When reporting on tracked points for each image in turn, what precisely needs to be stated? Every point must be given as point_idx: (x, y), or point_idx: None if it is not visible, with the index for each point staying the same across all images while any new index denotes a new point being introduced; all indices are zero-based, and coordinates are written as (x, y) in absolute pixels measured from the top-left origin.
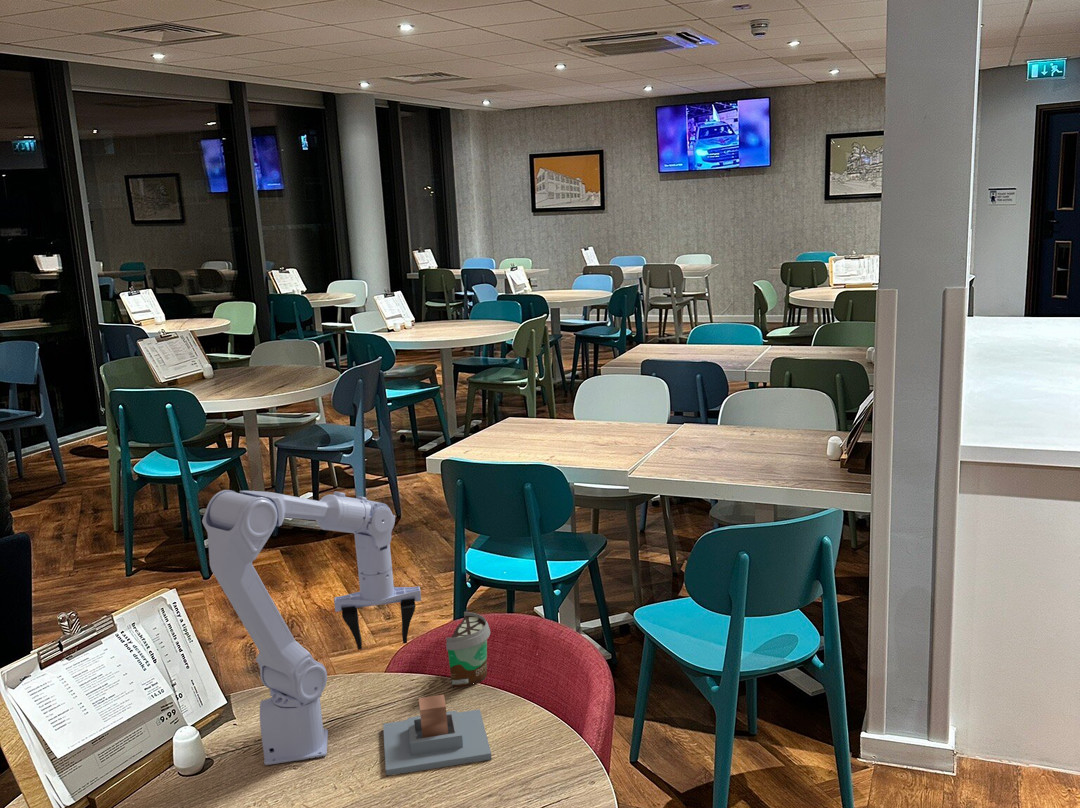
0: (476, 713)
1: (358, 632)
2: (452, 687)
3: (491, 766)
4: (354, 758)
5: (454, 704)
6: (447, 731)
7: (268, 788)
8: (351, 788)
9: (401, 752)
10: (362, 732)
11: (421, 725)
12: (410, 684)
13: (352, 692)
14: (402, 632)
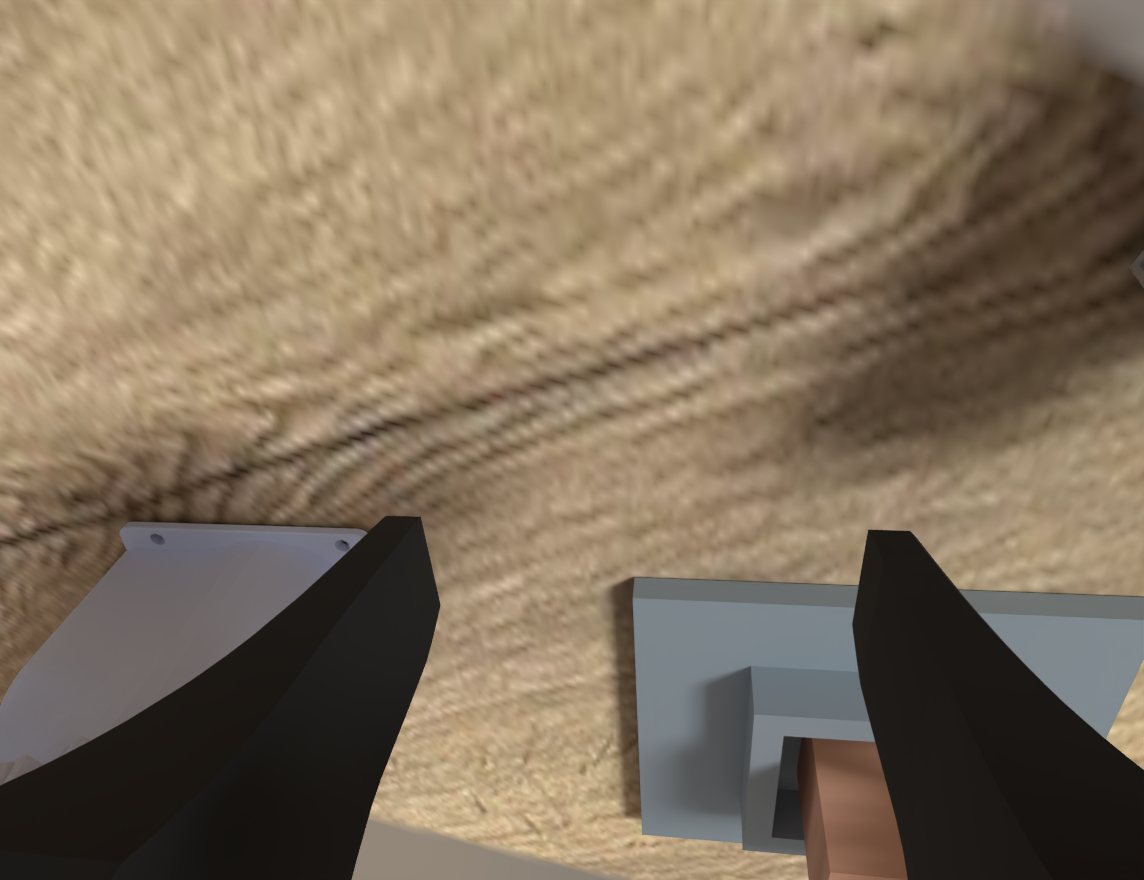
0: (1123, 648)
1: (369, 803)
2: (1132, 270)
3: None
4: (523, 709)
5: (1054, 466)
6: None
7: None
8: (532, 824)
9: (704, 779)
10: (535, 570)
11: (807, 840)
12: (840, 120)
13: (414, 134)
14: (881, 707)
